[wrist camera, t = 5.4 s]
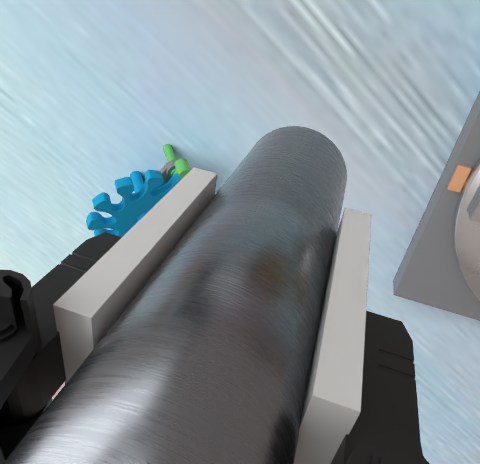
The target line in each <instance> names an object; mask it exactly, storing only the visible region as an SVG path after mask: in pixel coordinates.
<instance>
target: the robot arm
mask: <svg viewBox="0 0 480 464" xmlns="http://www.w3.org/2000/svg"><path fill="white" fill-rule="evenodd" d="M216 179H217V173H213V172H210V171H206V170H202V169H198V168H195V167H194V168H193V169H192V170H191V171H190V172H189V173H188V174H187V175H186V176H185V177H184V178H183V179H182V180H181V181H179V182H178V183H177V184H176V185H175V186H174V187H173V188H172V189H171V190H170V191H169V192H168V193H167V194H166V195H165V196H164V197H163V198H162V199H161V200H160V201H159V202H158V203H157V204H156V205H155V206H154V207H153V208H152V209H151V210H150V211H149V212H148V213H147V214H146V215H145V216H144V217H143V218H142V219H141V220H139V221H138V222H137V223H136V224H135V225H134V226H133V227H132V228H131V229H130V230H129V231H128V232H127V233H126V234H125V235H124V236H123V237H120V236H116V235H113V234H110V233H107V232H104V233H102V234H99V235H97V236H95V237H92V238H90V239H88V240H86V241H85V242H84V243H82V244H81V245H80V246H79V247H78V248H77V249H75V250H74V251H73V253H72V255H69V256H67V257H66V258H65V259H64V260H63V261H62V262H61V264H60V265H59V264H58V265H57V266H56V267H55V268H54V269H52V270H51V271H50V272H49V273H48V274H47V275H45V276H44V277H43V278H42V279H41V280H40V281H39V282H37V283H36V284H35V285H34V286H33V287H32V288H31V283H30V281H29V280H28V279H27V278H26V277H25V276H24V275H23V274H20V273H18V272H15V271H12V270H0V464H3V463H4V461H5V460H6V459H7V458H8V456H9V455H10V454H11V453H12V451H13V450H14V449H15V448H16V446H17V445H18V444H19V443H20V441H21V440H22V439H23V437H24V436H25V435H26V434H27V432H28V431H29V430H30V429H31V427H32V426H33V425H34V424H35V422H36V421H37V420H38V419H39V417H40V416H41V415H42V413H43V412H44V411H45V410H46V408H47V407H48V406H49V405H50V403H51V402H52V396H53V395H54V394H55V393H56V391H57V390H58V389H59V388H60V386H61V385H62V384H63V383H64V381H65V384H66V383H67V382H68V381H69V379H70V378H71V377H72V376H73V374H74V373H75V372H76V371H77V369H78V368H79V367H80V366H81V364H82V363H83V362H84V360H85V359H86V358H87V357H88V355H89V354H90V353H91V352H92V350H93V349H94V348H95V347H96V345H97V344H98V343H99V342H100V340H101V339H102V338H103V336H104V335H105V334H106V333H107V331H108V330H109V329H110V328H111V326H112V325H113V324H114V323H115V321H116V320H117V319H118V318H119V316H120V315H121V314H122V312H123V311H124V310H125V309H126V307H127V306H128V305H129V304H130V302H131V301H132V300H133V299H134V297H135V296H136V295H137V294H138V292H139V291H140V290H141V288H142V287H143V286H144V285H145V283H146V282H147V281H148V280H149V278H150V277H151V276H152V275H153V273H154V272H155V271H156V270H157V268H158V267H159V266H160V264H161V263H162V262H163V261H164V259H165V258H166V257H167V256H168V254H169V253H170V252H171V251H172V249H173V248H174V247H175V246H176V244H177V243H178V242H179V241H180V239H181V238H182V237H183V235H184V234H185V233H186V232H187V230H188V229H189V228H190V227H191V225H192V224H193V223H194V222H195V220H196V219H197V218H198V217H199V215H200V214H201V213H202V211H203V210H204V209H205V208H206V206H207V205H208V204H209V203H210V201H211V200H212V199H213V198H214V195H215V187H216ZM370 233H371V214H367V213H363V212H359V211H356V210H352V209H348V208H345V210H344V213H343V216H342V219H341V222H340V225H339V228H338V231H337V234H336V239H335V244H334V249H333V254H332V260H331V265H330V270H329V275H328V281H327V286H326V291H325V296H324V302H323V307H322V312H321V317H320V323H319V328H318V333H317V338H316V344H315V349H314V354H313V360H312V365H311V370H310V375H309V381H308V386H307V391H306V396H305V402H304V407H303V412H302V417H301V423H300V428H299V438H298V443H297V448H296V454H295V459H294V464H429V463H428V462H427V460H426V459H425V458H424V456H423V453H422V448H421V443H420V431H419V418H418V405H417V393H416V380H414V379H415V367H414V364H413V361H414V354H413V341H412V339H411V337H410V336H409V334H408V332H407V330H406V328H405V326H404V325H403V323H402V322H401V321H398V320H394V319H391V318H388V317H385V316H381V315H378V314H375V313H372V312H368V311H366V305H367V287H368V269H369V251H370Z"/></svg>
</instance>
